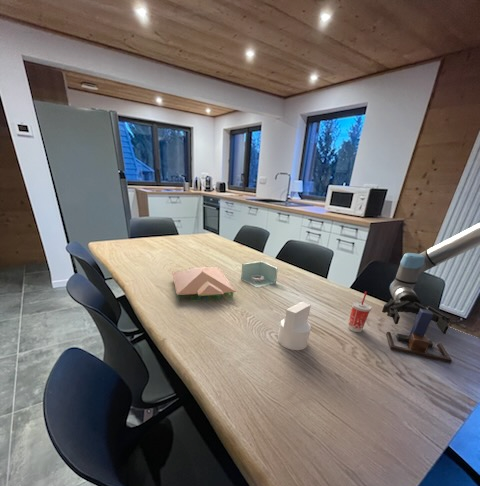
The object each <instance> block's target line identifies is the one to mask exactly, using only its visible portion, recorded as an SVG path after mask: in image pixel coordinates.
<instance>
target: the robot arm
mask: <svg viewBox="0 0 480 486" xmlns="http://www.w3.org/2000/svg"><path fill="white" fill-rule="evenodd" d="M479 246H480V221H479V222H477V223H476V224H473V225H472V226H470V227H467V228H466V229H464V230H462V231H460V232H458V233H456V234H455V235H453V236H450V237H449V238H447V239H445V240H443V241H441V242H440V243H438V244H435V245H433V246H432V247H429V248H428V249H426V250H424V251H422V252H421V253H415V252H406V253H404V254H403V255H402V258H401V260H400V263H399V267H398V269H397V272H396V275H395V278H394V280H393V281H391V283H390V285H389V292H390V295H391V297H392V298H390V299H389V300H388V302H387V303H385V304H384V305H383V307H382V309H381V312H382V313H384V314H385V313H387V314H386V316H387V317H390V318H392V320H393V323H394V325H398V324H399V321H400V319H401V316H400V314H399V313H406V314H407V313H409V314H410V313H412V314H414V315H416V316H417V315H418V312H419V310H420V309H425V310H430V311H431V312H432V313H433V317H432V319H431V321H432V322H434V323H435V324H436V326H437V328H438V329H439V330H440V332H441V334H442V335H446V334H447V332H448V330H449V328H450V325H449V323H450V321H451V319H452V318H451V317H450V316H448V315H447V314H445V313H444V312H441V311H439V310H438V309H437V308H436V309H435V308H434V307H433V305H430V304H429V305H427V306H424V305H423V304H422V303H421V300H420V298H419V296H418V295H417V293H416V292H415V290H414V289H415V286H416V284H417V281H418V279H419V277H420V275H421V274H422V273H424V272H426V271H429V270H430V269H433V268H435V267H436V266H439V265H441V264H443V263H446V262H447V261H449V260H452V259H454V258H455V257H458V256H460V255H462V254H464V253H466V252H468V251H470V250H473V249H475V248H477V247H479Z"/></svg>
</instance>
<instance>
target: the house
mask: <svg viewBox="0 0 480 486" xmlns="http://www.w3.org/2000/svg"><path fill="white" fill-rule="evenodd" d="M171 274H172V278H173V283H174V288H175V292H176V296H177V297H178V302H181V300H180V298H181V297H183V296H188V295H192V298H195V297H196V300H195V299H192V302H196V301H201V298H202V297H205V298H204V301H205V302H207V303H211V302H214V300H208V297H210V299H215V296H217V302H220V301H221V297H223V296H225V295H229V296H230V297H226V300H228V299H229V300H230V299H233V298H234V293H236V290H235V289H234V287H233V285H232V284H231V282H230V281H229V280H228V278H227V277H226V276H225V274H224V273H223V271H222V270H221V268H220V267H217V266H216V267H215V266H201V267H199V266H198V267H189V268H188V269H187V270H178V271H172V272H171ZM193 295H194V296H193Z"/></svg>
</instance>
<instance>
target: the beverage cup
mask: <svg viewBox="0 0 480 486" xmlns="http://www.w3.org/2000/svg"><path fill="white" fill-rule="evenodd" d="M367 294H368V291H367V290H366V291H364V295H363V299H362V300H361V301H353V302H352V303H351V311H350V316H349V320H348V325H347V328H348V329H349V330H350V331H352V332H356V333H360V332H362V331H363V329H364V327H365V324H366V321H367V319H368V317H369V315H370V312H371V311H372V308H373V307H372V305H370V304H369V303H366V302H365V300H366V296H367Z"/></svg>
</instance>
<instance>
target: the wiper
mask: <svg viewBox="0 0 480 486" xmlns="http://www.w3.org/2000/svg"><path fill="white" fill-rule="evenodd" d="M432 317H433V313H432V312H431V311H430V310H425V309H420V310H419V312H418V315H417V314H416V317H415V319H414V322H413V324H412V327H411V329H410V332H409V334H408V335H407V334H401V333H396V335H395V339H396V341H397V342H400V343H405V344H408V342H409V339H410V337H411V334H412V333H414V334H418V335H423V336H426V332H427V330H428V329H429V326H430V323H431V321H432V320H431V319H432ZM428 340H429V342H430V343H429V345H428V347H427V349H433V347H434V343H433V341H432V340H431V339H428Z"/></svg>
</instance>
